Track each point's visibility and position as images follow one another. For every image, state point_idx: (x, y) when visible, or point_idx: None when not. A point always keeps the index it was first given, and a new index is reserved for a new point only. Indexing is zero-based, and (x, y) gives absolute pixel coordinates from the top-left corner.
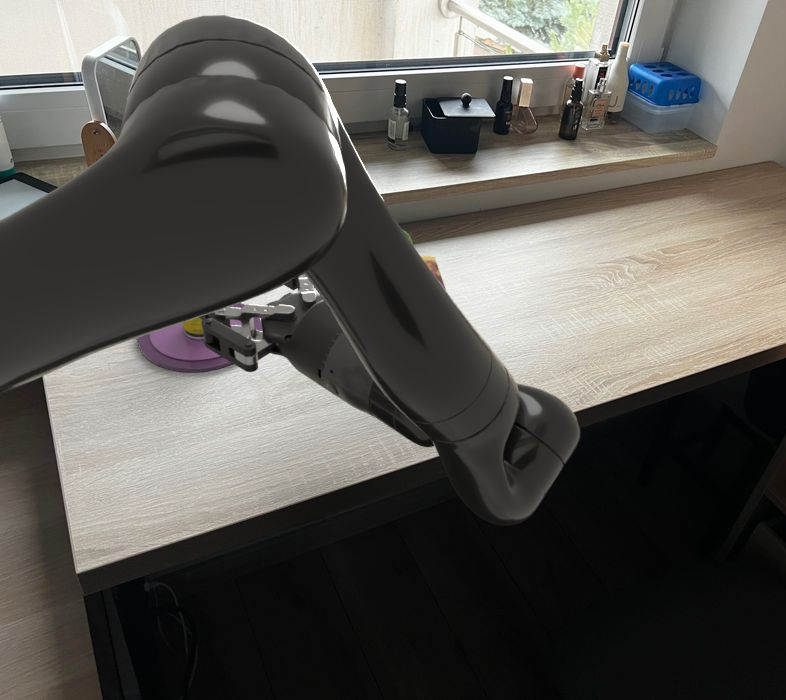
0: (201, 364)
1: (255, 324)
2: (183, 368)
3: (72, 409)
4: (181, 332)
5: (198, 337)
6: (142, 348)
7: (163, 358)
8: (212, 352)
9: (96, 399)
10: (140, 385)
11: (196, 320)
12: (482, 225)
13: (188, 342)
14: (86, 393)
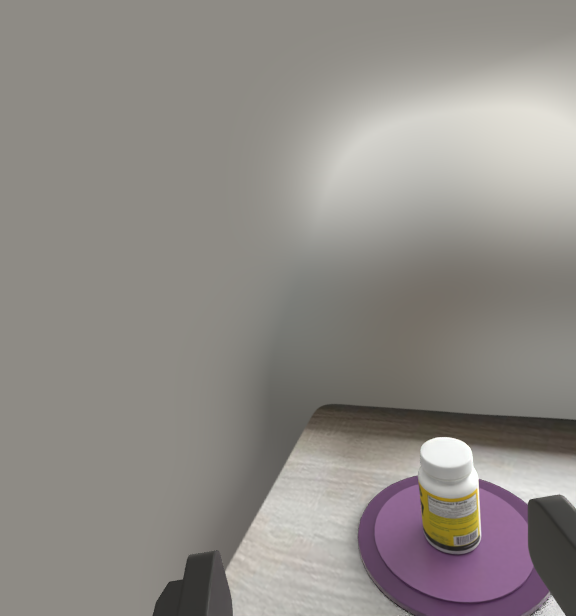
0: (423, 603)
1: None
2: (393, 596)
3: (233, 590)
4: (420, 525)
5: (438, 547)
6: (360, 530)
7: (376, 561)
8: (449, 587)
9: (265, 589)
10: (326, 595)
11: (437, 520)
12: None
13: (422, 548)
14: (263, 571)
